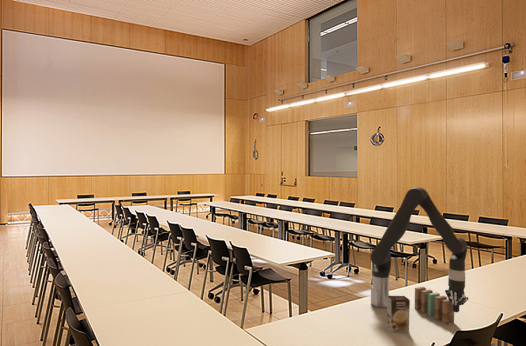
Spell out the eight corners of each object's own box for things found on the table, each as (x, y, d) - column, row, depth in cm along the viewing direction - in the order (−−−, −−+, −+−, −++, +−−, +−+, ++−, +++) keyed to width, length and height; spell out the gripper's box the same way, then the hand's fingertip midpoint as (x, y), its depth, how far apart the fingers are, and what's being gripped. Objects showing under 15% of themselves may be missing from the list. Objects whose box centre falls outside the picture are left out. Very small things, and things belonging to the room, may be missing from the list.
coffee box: (391, 332, 181) (391, 300, 180) (386, 326, 187) (386, 295, 187) (409, 332, 181) (410, 299, 181) (404, 326, 188) (404, 295, 187)
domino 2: (423, 313, 204) (423, 291, 204) (421, 312, 206) (421, 290, 206) (432, 312, 206) (432, 290, 206) (429, 310, 208) (429, 289, 208)
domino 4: (437, 320, 195) (437, 298, 195) (434, 319, 197) (435, 296, 196) (446, 319, 197) (446, 296, 196) (443, 317, 199) (443, 295, 198)
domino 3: (430, 316, 200) (430, 294, 199) (427, 315, 202) (428, 293, 201) (439, 315, 201) (439, 293, 201) (436, 314, 203) (436, 292, 203)
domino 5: (445, 324, 190) (445, 301, 190) (442, 322, 192) (442, 300, 192) (454, 322, 192) (454, 300, 192) (451, 321, 194) (451, 298, 194)
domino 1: (417, 309, 209) (417, 289, 209) (414, 308, 211) (414, 287, 211) (425, 308, 211) (425, 287, 211) (423, 307, 213) (423, 286, 213)
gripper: (440, 274, 192) (440, 307, 192) (461, 282, 179) (461, 318, 180) (452, 273, 194) (451, 306, 194) (473, 281, 181) (472, 316, 182)
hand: (456, 311), depth 187 cm, fingers closed
